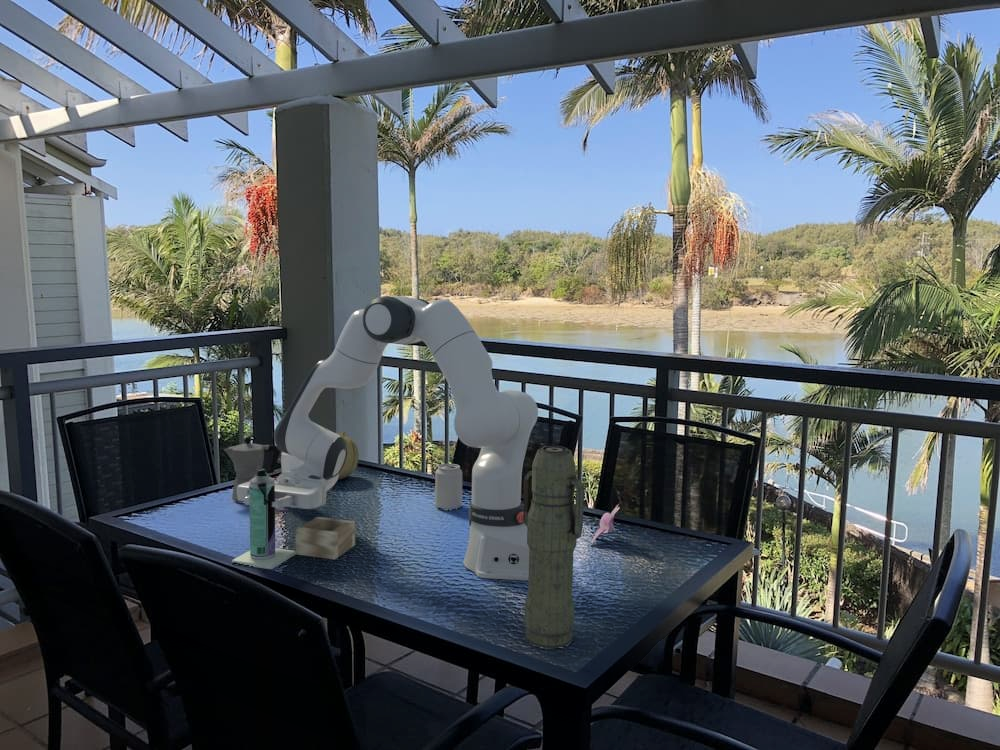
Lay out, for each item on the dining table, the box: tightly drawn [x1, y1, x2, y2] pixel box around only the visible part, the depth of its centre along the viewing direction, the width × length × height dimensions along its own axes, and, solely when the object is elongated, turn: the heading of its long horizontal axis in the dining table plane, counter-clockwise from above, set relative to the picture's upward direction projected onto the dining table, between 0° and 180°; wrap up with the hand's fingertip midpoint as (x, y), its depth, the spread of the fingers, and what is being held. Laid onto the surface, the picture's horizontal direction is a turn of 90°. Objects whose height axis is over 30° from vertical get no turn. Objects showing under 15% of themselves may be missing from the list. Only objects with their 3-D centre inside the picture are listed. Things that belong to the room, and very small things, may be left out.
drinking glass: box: [280, 451, 304, 474], centre depth 219 cm, size 7×7×15 cm
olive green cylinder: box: [523, 445, 585, 648], centre depth 140 cm, size 9×12×35 cm
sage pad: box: [231, 547, 297, 570], centre depth 179 cm, size 10×10×1 cm
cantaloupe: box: [335, 431, 360, 480], centre depth 248 cm, size 15×15×15 cm
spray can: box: [248, 468, 276, 560], centre depth 177 cm, size 6×6×20 cm
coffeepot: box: [223, 436, 281, 503], centre depth 224 cm, size 15×9×18 cm, turn 100°
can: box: [434, 463, 463, 510], centre depth 220 cm, size 8×8×12 cm
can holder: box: [295, 516, 356, 561], centre depth 185 cm, size 10×10×6 cm
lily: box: [590, 503, 623, 546], centre depth 195 cm, size 12×12×10 cm
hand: (260, 503), depth 176 cm, fingers closed on spray can, 5 cm apart
